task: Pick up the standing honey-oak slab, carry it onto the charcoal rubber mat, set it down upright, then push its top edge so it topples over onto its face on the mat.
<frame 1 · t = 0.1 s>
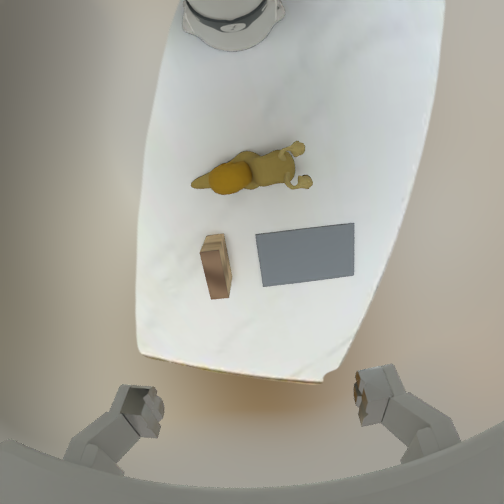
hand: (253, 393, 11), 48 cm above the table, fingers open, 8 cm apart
toy: (245, 169, 54), on the table
slab: (219, 256, 62), on the table
mat: (307, 255, 61), on the table
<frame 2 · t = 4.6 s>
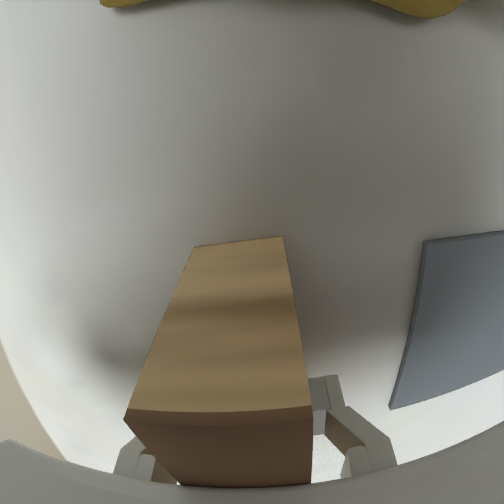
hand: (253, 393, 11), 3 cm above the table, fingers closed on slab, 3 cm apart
slab: (254, 338, 14), on the table, touching gripper
when the fingers open (5 cm above the table, at t = 9.9 s): slab stays where it is, resting on mat.
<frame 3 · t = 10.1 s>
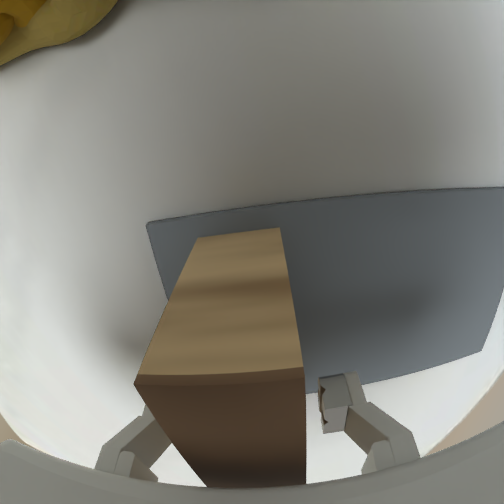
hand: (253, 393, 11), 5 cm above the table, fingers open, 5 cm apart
slab: (254, 326, 15), resting on mat
mat: (369, 307, 15), on the table
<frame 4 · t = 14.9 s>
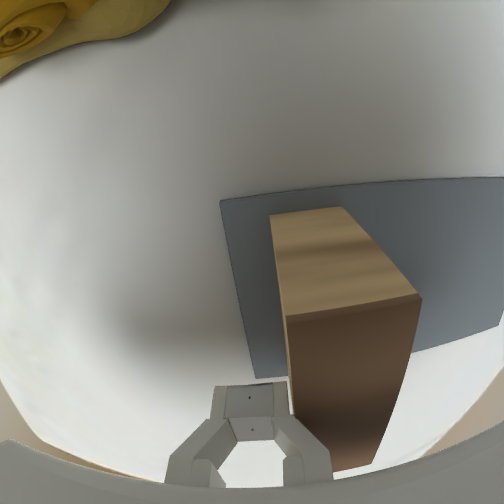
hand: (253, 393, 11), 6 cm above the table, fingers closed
slab: (312, 298, 16), resting on mat, touching gripper
mat: (408, 280, 16), on the table
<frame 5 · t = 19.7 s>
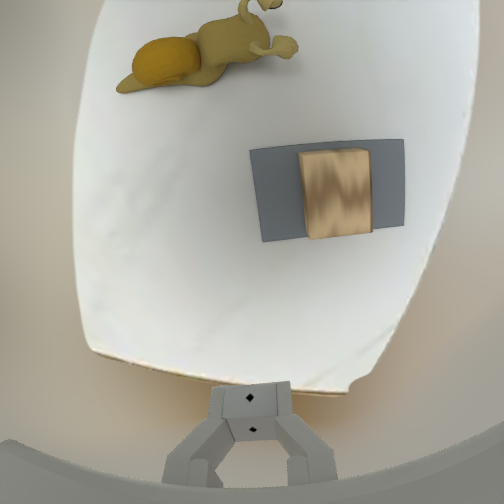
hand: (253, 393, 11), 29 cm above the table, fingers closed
toy: (196, 62, 30), on the table
slab: (304, 195, 35), point 2 cm above the table, tilted 90°, touching mat
mat: (334, 188, 36), on the table
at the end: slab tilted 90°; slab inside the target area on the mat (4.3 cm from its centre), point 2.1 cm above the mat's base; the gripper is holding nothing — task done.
